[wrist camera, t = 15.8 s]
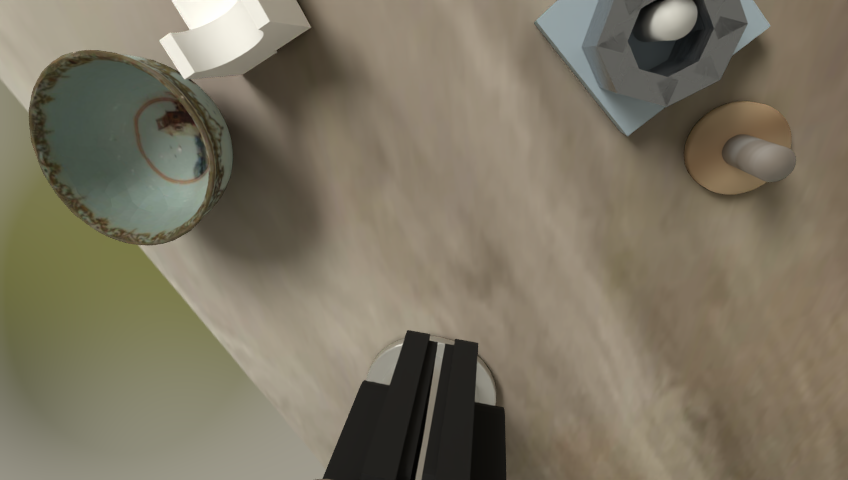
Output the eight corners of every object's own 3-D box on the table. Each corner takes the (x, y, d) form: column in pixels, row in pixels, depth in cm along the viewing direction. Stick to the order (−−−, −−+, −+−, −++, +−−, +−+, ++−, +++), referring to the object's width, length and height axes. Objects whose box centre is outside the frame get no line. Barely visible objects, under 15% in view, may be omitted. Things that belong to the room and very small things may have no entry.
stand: (801, 151, 32) (857, 169, 27) (715, 207, 34) (752, 233, 29) (751, 80, 31) (801, 85, 26) (666, 144, 33) (696, 159, 28)
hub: (753, 27, 30) (818, 21, 24) (620, 131, 33) (647, 148, 27) (664, -102, 28) (710, -144, 22) (533, 22, 32) (542, 15, 26)
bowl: (222, 24, 35) (148, 16, 27) (292, 189, 39) (245, 220, 32) (85, 81, 38) (-13, 87, 31) (163, 227, 42) (94, 264, 35)
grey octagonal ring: (718, 58, 29) (760, 59, 25) (611, 114, 31) (631, 125, 27) (679, -50, 27) (716, -71, 23) (567, 17, 29) (581, 10, 25)
